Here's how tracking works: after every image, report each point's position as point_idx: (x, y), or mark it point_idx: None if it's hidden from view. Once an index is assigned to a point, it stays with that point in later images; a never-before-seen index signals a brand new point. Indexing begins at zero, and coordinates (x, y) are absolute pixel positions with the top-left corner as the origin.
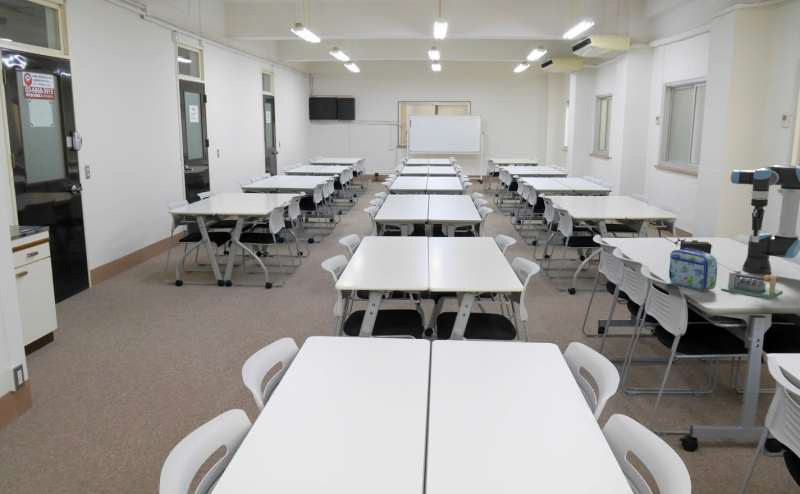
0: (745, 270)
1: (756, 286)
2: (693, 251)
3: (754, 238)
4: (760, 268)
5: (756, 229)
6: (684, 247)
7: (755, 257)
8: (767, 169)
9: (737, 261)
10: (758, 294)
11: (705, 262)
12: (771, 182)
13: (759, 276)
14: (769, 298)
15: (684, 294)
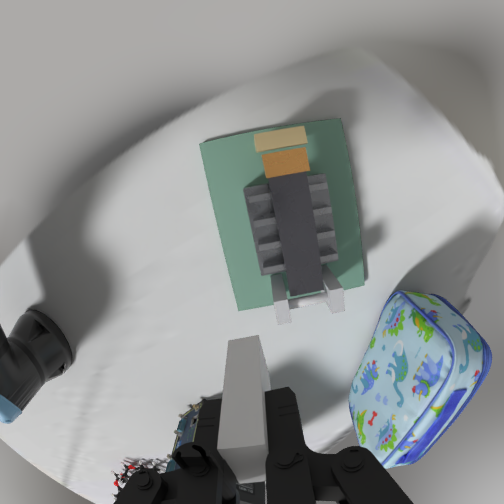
0: (71, 359)
1: (327, 184)
2: (441, 427)
3: (268, 387)
4: (46, 332)
5: (366, 453)
6: (263, 496)
7: (36, 364)
8: None
9: (36, 395)
10: (338, 163)
11: (485, 341)
12: None
13: (281, 205)
14: (340, 122)
15: (464, 303)
